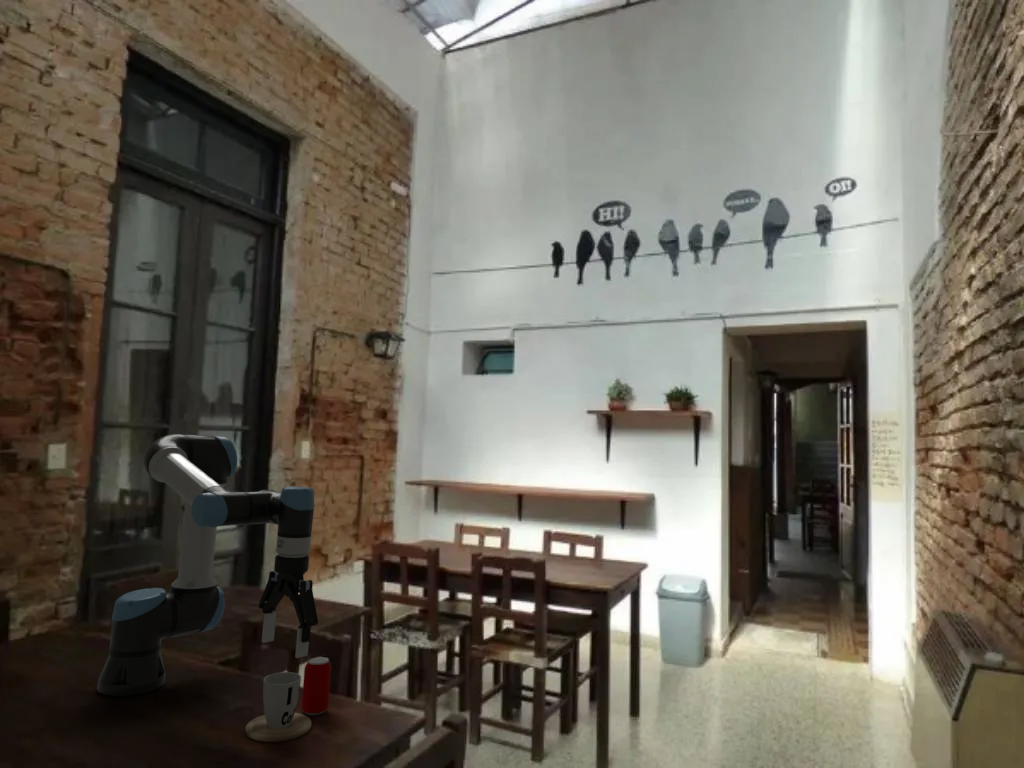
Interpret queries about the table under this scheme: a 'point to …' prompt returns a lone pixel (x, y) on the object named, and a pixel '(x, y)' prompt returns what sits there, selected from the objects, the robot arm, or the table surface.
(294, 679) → the cup
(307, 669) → the beverage can
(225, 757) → the table surface
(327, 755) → the table surface
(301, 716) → the plate
